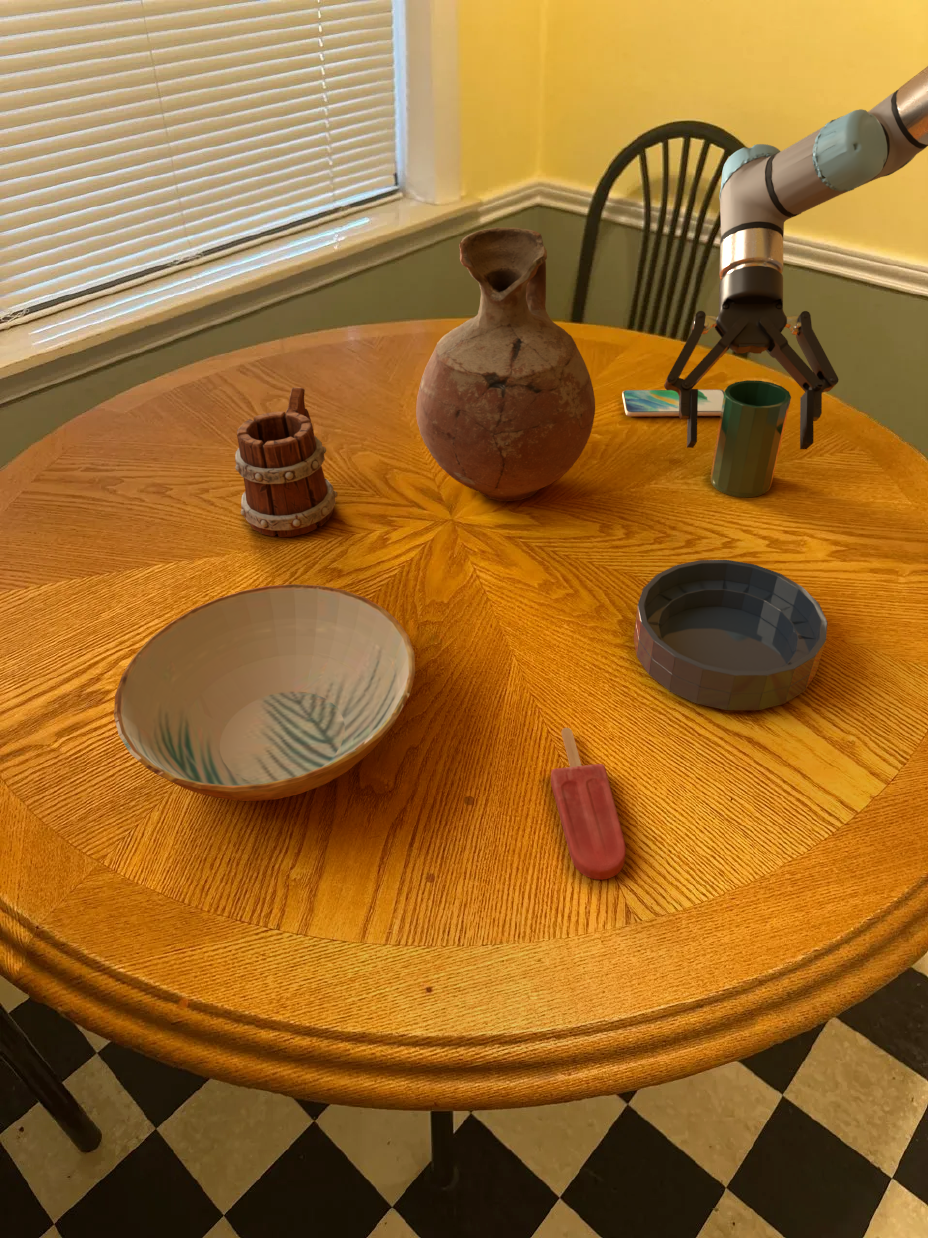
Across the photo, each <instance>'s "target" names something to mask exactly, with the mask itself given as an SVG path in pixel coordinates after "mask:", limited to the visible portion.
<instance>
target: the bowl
mask: <svg viewBox="0 0 928 1238" xmlns="http://www.w3.org/2000/svg"><path fill="white" fill-rule="evenodd" d="M415 656H416V655H415V650H414V648H413V645H412V642H411V639H410V636H409V634H408V633H407V632H406V630H405V628H404V627H403V626H402V624H401V623H400V622H399V620H398V618H396V617H394V616H393V615H392V614H391V613H389V612H388V610H387V609H385V608H384V607H383V606H381V605H379V604H377V603H375V602H374V601H372V600H370V599H368V598H367V597H365V596H362V595H359V594H357V593H354V592H350V591H348V590H345V589H343V588H337V587H331V586H325V585H319V584H299V583H291V584H275V585H266V586H260V587H255V588H249V589H243V590H240V591H237V592H234V593H231V594H227V595H224V596H221V597H217V598H215V599H212V600H210V601H208V602H206V603H204V604H201V605H199V606H196V607H194V608H192V609H191V610H189V611H187V612H185V613H184V614H181V615H180V616H179V617H177V618H175V619H174V620H172V621H170V622H169V623H168V624H166V625H165V626H164V627H162V628H161V629H159V630H158V631H157V632H156V633H154V635H152V636H151V637H150V638H148V640H147V641H146V642H145V643H144V644H143V646H142V647H140V649H139V650H138V651H137V652H136V653H135V654H134V656H133V657H132V659H130V661H129V663H128V665H127V667H126V668H125V669H124V671H123V672H122V675H121V676H120V680H119V683H118V686H117V689H116V691H115V694H114V708H113V717H114V722H115V725H116V729H117V734H118V736H119V738H120V740H121V741H122V743H123V744H124V746H125V748H126V749H127V752H128V753H129V754H130V755H131V756H132V757H133V758H134V759H136V760H137V761H138V762H139V763H140V764H141V765H142V766H144V767H145V768H146V769H147V770H149V771H150V772H152V773H154V774H155V775H157V776H159V777H160V778H162V779H165V780H167V781H169V782H171V783H174V784H175V785H177V786H179V787H181V788H183V789H185V790H188V791H190V792H193V793H196V794H199V795H204V796H206V797H211V798H214V799H222V800H230V801H231V800H232V801H242V802H243V801H244V802H258V801H259V802H260V801H271V800H280V799H283V798H288V797H292V796H296V795H300V794H304V793H306V792H309V791H311V790H314V789H316V788H319V787H321V786H325V785H326V784H328V783H330V782H331V781H333V780H335V779H337V778H339V777H340V776H343V775H344V774H345V773H347V772H348V771H350V770H351V769H352V768H353V767H355V766H356V765H357V764H359V763H360V762H361V761H362V760H363V759H365V757H367V756H368V755H369V754H371V753H372V752H373V750H375V748H376V747H377V746H378V744H380V743H381V742H382V740H383V739H384V738H385V737H386V735H388V733H389V732H390V730H391V729H392V727H393V726H394V724H395V723H396V721H397V719H398V717H399V715H400V714H401V712H402V710H403V708H404V706H405V705H406V702H407V701H408V699H409V697H410V695H411V693H412V688H413V684H414V680H415V676H416V659H415V658H416V657H415Z"/></svg>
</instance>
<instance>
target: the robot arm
mask: <svg viewBox="0 0 928 1238" xmlns="http://www.w3.org/2000/svg"><path fill="white" fill-rule="evenodd" d="M927 147H928V65H927V66H926V67H925V68H923V69H922V70H921V71H919V72H918V73H917V74H916V75H914V76H913V77H912V78H910V79H908V80H907V82H904V84H903V85H901V86H899V88H898V89H896V90H894V92H892V93H891V94H889V95H887V97H885V98H884V99H883V100H881V101H880V102H879V103H878V104H876V105H875V106H873V107H872V108H871V109H870V110H868V111H867V110H866V109H863V108H861V109H855V110H853V111H850V112H848V113H846V114H845V115H842V116H840V117H837V118H835V119H831V120H830V121H829V122H827V123H825V124H824V126H822V127H821V128H819V129H817V130H815V131H814V132H812V133H810V134H808V135H807V136H805V137H804V138H802V139H800V140H798V141H797V142H795V143H793V144H792V145H790V146H788V147H787V148H784V149H782V150H780V149H779V148H777V147H776V146H774V145H770V144H765V143H757V144H754V145H752V146H751V147H742V148H740V149H738V150H736V151H735V152H733V153H732V154H731V155H730V156H729V157H727V159H726V161H725V163H724V164H723V167H722V172H721V181H720V182H721V183H720V190H719V193H718V195H719V199H718V200H719V209H720V211H719V214H720V241H719V279H720V281H719V284H718V314H717V315H707V314H706V312H705V311H703V310H698V311H697V312H696V313H695V315H694V318H693V321H692V323H691V330H690V334H689V336H688V338H687V340H686V341H685V344H684V345H683V348H682V349H681V351H680V353H679V355H678V356H677V357H676V358H677V359H676V360H675V362H674V364H673V366H672V368H671V369H670V371H669V372H668V375H667V377H666V379H665V382H664V385H663V386H664V390H673V391H676V392H677V393H678V395H679V416H678V417H679V419H680V420H687V421H686V423H687V425H686V426H687V427H686V448H687V449H694V447H695V446H696V444H697V442H698V416H697V415H698V390H699V389H698V388H695V386H696V385H697V384H698V383H699V382H700V381H701V380H702V379H703V378H704V377H705V375H707V374H708V372H709V371H710V370H711V369H712V368H713V367H714V366H715V364H716V363H717V362H718V361H719V360H720V359H721V358H722V357H723V356H724V355H725V354H726V353H727V352H728V351H729V350H731V351H732V352H735V354H745V353H751V354H754V355H755V354H757V355H758V354H759V355H760V354H762V353H763V352H766V353H767V354H768V355H769V356H770V358H773V359H775V360H776V361H777V362H778V363H779V364H780V366H781V367H782V368H783V369H784V370H785V371H786V372H787V374H788V375H789V376H790V377H791V378H792V379H793V380H794V381H795V382H796V383H797V385H798V386H799V387H800V388H801V389H802V391H804V392H803V394H802V395H801V396H800V397H799V398H800V402H799V403H800V405H799V406H800V407H799V408H800V410H799V411H800V412H799V413H800V414H799V415H800V416H799V418H800V419H799V450H808V448H810V447H811V446H812V445H813V444H814V422H817V421H818V420H819V419H820V418H821V416H822V413H823V409H822V407H823V406H822V405H823V403H822V402H823V393H826V392H827V393H828V392H830V391H832V390H833V388H834V387H835V386H836V385H837V384H838V383H839V380H840V379H839V376H838V375H837V373H836V371H835V369H834V367H833V365H832V363H831V362H830V360H829V358H828V356H827V354H826V352H825V350H824V347H822V345H821V343H820V341H819V339H818V337H817V335H816V333H815V331H814V329H813V325H812V315H811V313H810V312H809V311H808V310H804V311H803V310H802V311H801V313H800V314H798V315H797V314H796V315H786V314H785V312H784V276H783V272H784V235H785V222H786V221H788V220H790V219H792V218H795V217H797V216H799V215H801V214H803V213H805V212H806V211H808V210H811V209H813V208H815V207H817V206H820V205H821V204H824V203H826V202H828V201H831V200H832V199H835V198H836V197H839V196H841V195H843V194H846V193H848V192H851V191H854V190H855V189H857V188H859V187H861V186H864V185H866V184H868V183H871V182H872V181H876V180H878V179H880V178H884V177H888V176H890V175H892V174H894V173H896V172H897V171H900V170H901V169H903V168H904V167H905V166H907V165H908V164H909V163H910V162H912V161H913V159H914V158H915V157H916V156H917V155H918V154H919V153H920V152H922V151H924V150H925V149H927ZM712 328H714V330H715V331H716V333H717V334H718V335H719V337H720V339H719V340H718V341H717V343H716V344H715V345H714V346H713V347H712V349H711V350H709V352H708V353H707V354H706V355H705V356H704V357H703V358H702V360H701V361H699V362H698V364H696V366H695V367H694V368H693V369H692V370H691V372H689V373H688V375H687V376H686V377H685V378H684V379H683V378H681V375H682V373H683V372H684V369H685V368H686V365H687V364H688V362H689V360H690V358H691V357H692V355H693V353H694V351H695V349H696V347H697V346H698V344H699V342H700V340H701V337H702V335H706V334H708V333H709V331H710V329H712ZM785 328H786V329H789V331H790V333H791V335H792V336H794V335H795V339H796V340H797V344H798V346H799V347H800V350H801V352H802V354H803V356H804V358H805V360H806V361H807V363H808V364H807V363H806V362H805V361H804V360H803V359H802V358H801V357H800V355H799V354H798V353H797V352H796V351H795V350H794V349H793V348H792V347H791V345H790V344H789V341H788V339H787V338H786V337H785V335H783V333H782V332H783V331H784V329H785ZM808 365H809V366H808Z"/></svg>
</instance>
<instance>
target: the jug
mask: <svg viewBox="0 0 928 1238" xmlns="http://www.w3.org/2000/svg"><path fill="white" fill-rule="evenodd" d="M544 245H545V244H544V241H543V235H542V234H541V233H539V232H538V231H536V230H532V229H529V228H528V229H527V228H522V227H500V226H496V227H490V228H484V229H480V230H476V231H474V232H471V233H468V234H467V235H466V236H464V237H462V238H461V240H460V242H459V244H458V246H459V247H458V248H459V260H460V264H461V265H462V266H464V268H466V269H467V271H468V273H469V275H470V277H472V278H473V279H474V280H475V281H476V282H477V283H478V285H479V289H480V300H479V301H480V302H479V308H478V311H477V314H476V315H475V316H473V317H471V318H469V319H467V320H466V321H464V322H462V323H461V324H459V325H458V326H456V327H455V328H452V329H451V330H450V331H448V332H447V333H446V334H444V335H443V336H441V338H440V339H439V340H438V341H437V342H436V345H435V347H434V350H433V352H432V353H431V355H430V357H429V359H428V361H427V363H426V365H425V368H424V371H423V374H422V376H421V379H420V384H419V389H418V392H417V396H416V408H415V417H416V424H417V427H418V430H419V434H420V436H421V438H422V440H423V443H424V445H425V447H426V448H427V450H428V451H429V453H430V454H431V456H432V458H433V459H434V460H435V462H436V463H437V464H438V466H439V467H440V468H441V469H442V470H443V471H444V472H445V473H446V474H447V475H449V476H450V477H451V478H452V479H454V480H455V481H457V482H458V483H460V484H462V485H464V486H465V487H467V488H468V489H469V488H470V489H472V490H474V491H477V492H479V493H480V494H482V495H483V496H485V498H486V499H492V500H496V501H499V502H513V501H521V500H524V499H525V500H526V499H528V498H530V497H532V496H534V495H535V494H536V493H537V492H538V491H539V490H540V489H543V488H545V487H548V486H549V485H551V484H554V483H555V482H557V481H558V480H559V479H561V478H562V477H563V476H564V475H565V474H566V473H567V472H568V471H569V470H570V469H571V468H572V467H573V466H574V464H575V463H576V462H577V460H578V459H579V457H580V456H581V455H582V453H583V451H584V450H585V447H586V445H587V444H588V441H589V438H590V436H591V433H592V430H593V426H594V421H595V415H596V398H595V391H594V386H593V383H592V378H591V375H590V372H589V369H588V367H587V365H586V362H585V359H584V358H583V356H582V354H581V352H580V350H579V348H578V346H577V344H576V342H575V340H574V338H573V337H572V335H571V334H570V333H568V332H567V331H566V330H565V328H563V327H562V326H560V325H558V324H557V323H555V322H554V321H553V320H552V319H551V317H550V315H549V314H548V312H547V308H546V307H547V306H546V303H547V302H546V299H547V264H546V263H547V262H546V260H547V259H548V251H547V248H546V247H545V246H544Z"/></svg>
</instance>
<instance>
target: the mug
mask: <svg viewBox="0 0 928 1238" xmlns="http://www.w3.org/2000/svg"><path fill="white" fill-rule="evenodd" d="M305 391H306V390H305V388H304V387H292V388H291V390H290V394H289V398H288V404H287V408H286V411H271V412H266V413H261V414H259V415H256V416H253V419H252V418H249V419H248V420H246V421H244V422H243V423H242V424H240V426H239V427H238V428H237V430H236V439H237V444H238V448H237V450H236V451H235V452H234V453H235V456H234V457H235V458H234V459H235V461H234V462H235V468H234V469H235V471H236V472H238V474H239V475H240V476H241V477H242V478H243V483H244V492H243V493H242V495H241V501H240V502H241V503H240V505H241V510H240V514H241V516H242V517H244V518H245V520H246V521H247V523H248V524H249V526H250V527H251V528H252V529H253V530H254V531H256V532H258V533H259V534H262V535H265V536H270V537H275V536H276V535H277V536H278V537H279V538H293V537H297V536H302V535H306V534H308V533H311V532H313V531H316V530H317V529H318V527H323V525H325V524H326V523H327V522H329V520H330V519H331V516H332V515H333V514H334V507H335V505H336V503H337V502H336V498H337V497H338V492H337V491H336V490H334V485H333V484H332V483H331V482H330V481H329V480H328V479H327V478H326V477H325V474H324V471H323V467H322V466H323V463H324V462H325V460H326V459H325V458H326V457H325V454H326V453H327V448H326V446H324V445H323V443H322V441H321V440H320V439H319V438H318V437H317V436H316V435H315V432H314V431H315V430H314V425H313V423H312V419H311V416H310V412H309V410H308V408H306V403H305V393H306V392H305Z"/></svg>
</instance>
